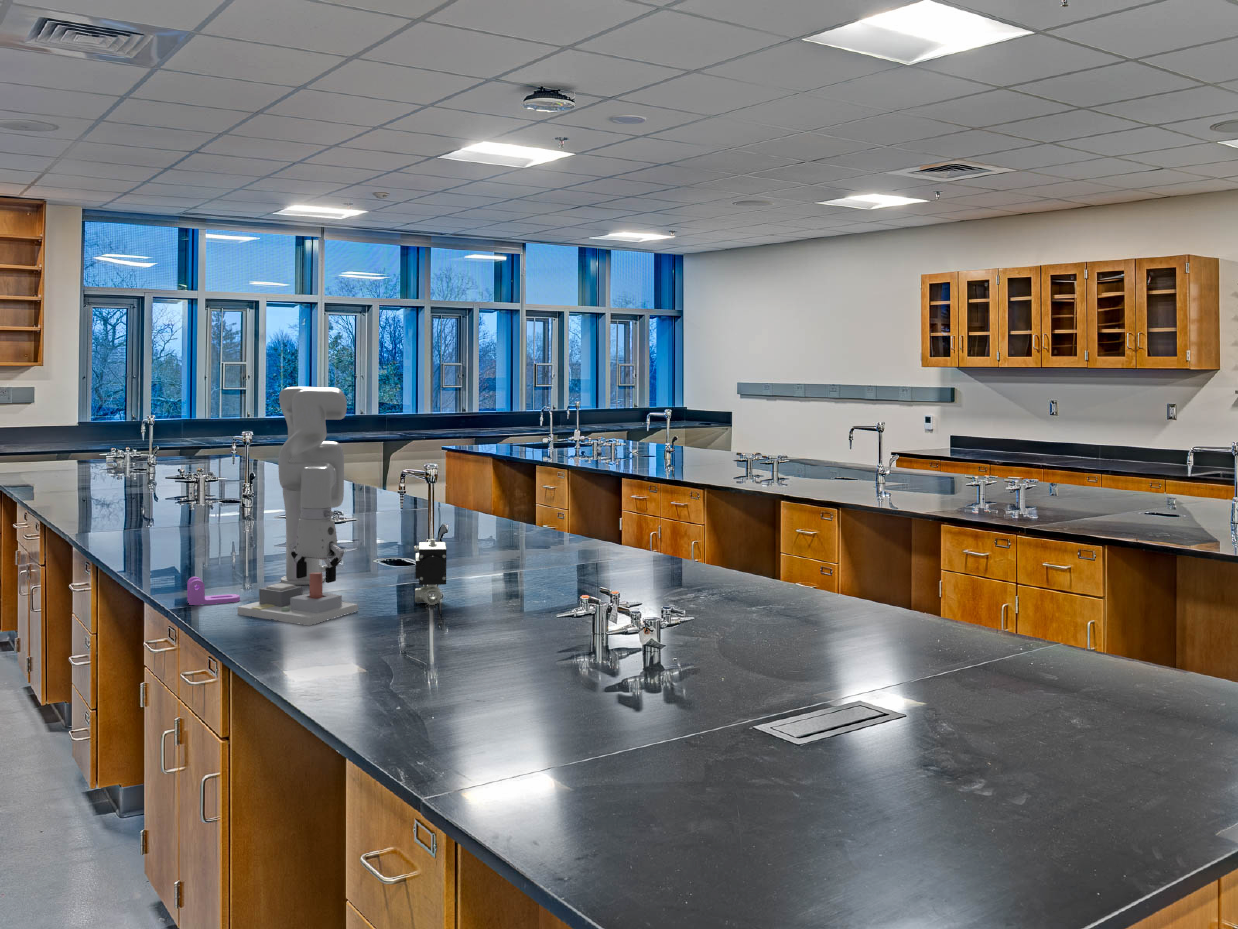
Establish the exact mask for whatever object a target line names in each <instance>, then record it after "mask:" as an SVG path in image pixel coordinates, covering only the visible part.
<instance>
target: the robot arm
mask: <svg viewBox="0 0 1238 929" xmlns="http://www.w3.org/2000/svg"><path fill="white" fill-rule="evenodd" d="M278 395H279V396H278V400H279V405H280V406H279V407H280V409H281V412H282V414H283V417H284V419H285V421H286V426H287V439H286V441H284V443H283V445H282V446H281V448H280V451H279V453H278V460H277V461H278V466H277V467H278V480H279V484H280V487H281V488H282V497H283V503H284V512H285V547H286V548H285V555H286V557H285V559H286V560H285V563H286V564H285V570H286V573H285V575H284V576H282V577H281V578H280V583H284V584H292V585H295V586H310V573H314V572H320V573H322V574H323V573H324V572H325V576H324V575H322V583H323V582H325V583H327V584H329V583H334V582H336V581H337V567H338V566H339V564H340V562H341V561H342V560H343V559H342V558H343V557H344V554H345V551H344V549H342V548H340V547H339V546H338V536H337V527H336V524H335V520H334V519H332V517H333V516H334V514H335V513H334V511H332V509H333V508H338V507H340V506H341V505H342V504H343V501H344V494H345V454H344V449H343V446H342V445H341V444H340V443H339V442H337V441H330V440H326V438H327V436H328V435H327V434H328V432H327V425H326V423H327V422H326V420H332V421H333V420H335V421H336V420H337V421H338V420H339V421H340V420H342V419H345V417H346V414H347V408H348V407H347V404H348V403H347V398H346V396H345V393H344V392H343V390H341V389H340V388H338V387H325V386H324V387H323V386H322V387H320V386H319V387H317V386H289V387H286V388H283V389H281V391H280V392H279V394H278ZM320 560H323V561H324V563H325V564H324V565H322V564H320Z"/></svg>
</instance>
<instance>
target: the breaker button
mask: <svg viewBox="0 0 1238 929" xmlns="http://www.w3.org/2000/svg"><path fill="white" fill-rule="evenodd" d="M295 586H296V585H292V584H284V583H282V582H280V583H275V584H270V585H266V587H267V589H272V590H279V591H283V590H287V589H291V588H295Z"/></svg>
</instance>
